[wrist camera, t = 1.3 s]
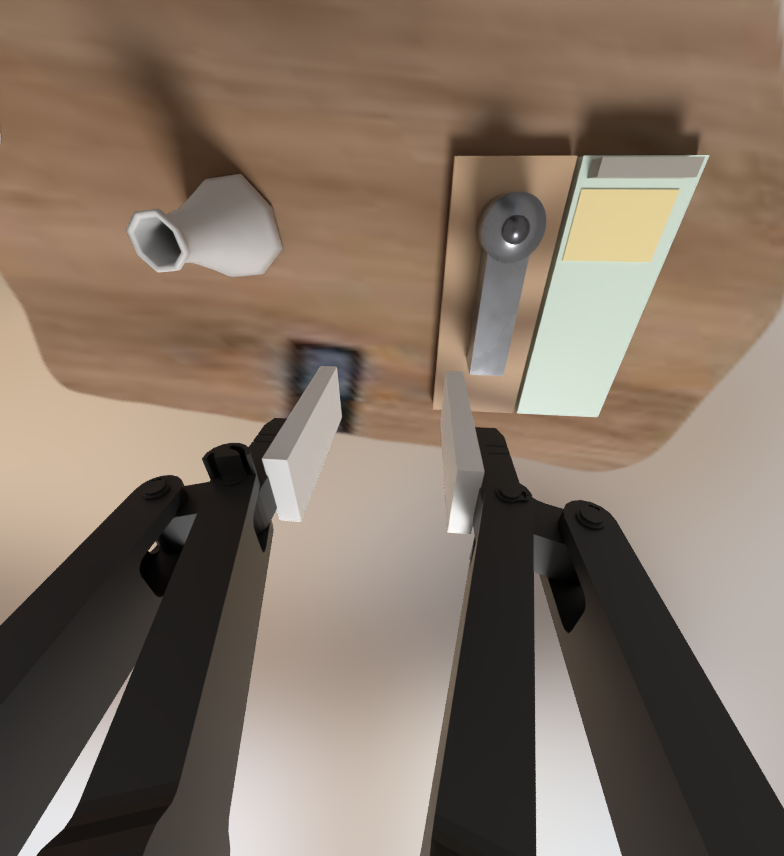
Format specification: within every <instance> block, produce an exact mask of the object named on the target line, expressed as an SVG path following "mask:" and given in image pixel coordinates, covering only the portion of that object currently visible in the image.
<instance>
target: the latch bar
mask: <svg viewBox="0 0 784 856" xmlns="http://www.w3.org/2000/svg"><path fill="white" fill-rule="evenodd" d="M546 221H547V220H546V212H545V209H544V206H543V204H542V203H541V201H540V200H539V199H538V198H537V197H536V196H534V195H533V194H530V193H527V192H510V193H503V194H500V195H498V196H496V197H494V198H493V199H492V200H490V201H489V202H488V203H487V204H486V205H485V207H484V208H483V210H482V211H481V213H480V215H479V218H478V221H477V227H476V234H477V239H478V242H479V244H480V246H481V248H482V250H481V257H480V264H479V271H478V278H477V286H476V293H475V300H474V307H473V314H472V321H471V328H470V335H469V342H468V349H467V357H466V362H467V366H468V370H469V374H470V375H493V376H504V371H505V367H506V362H507V357H508V353H509V348H510V343H511V339H512V334H513V330H514V325H515V320H516V316H517V311H518V306H519V302H520V297H521V292H522V288H523V283H524V279H525V274H526V269H527V265H528V260H529V255H530V254H531V253H532V252H534V250H535V249H536V248H537V247H538V245H539V244H540V242H541V240H542V238H543V236H544V233H545V229H546Z"/></svg>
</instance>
